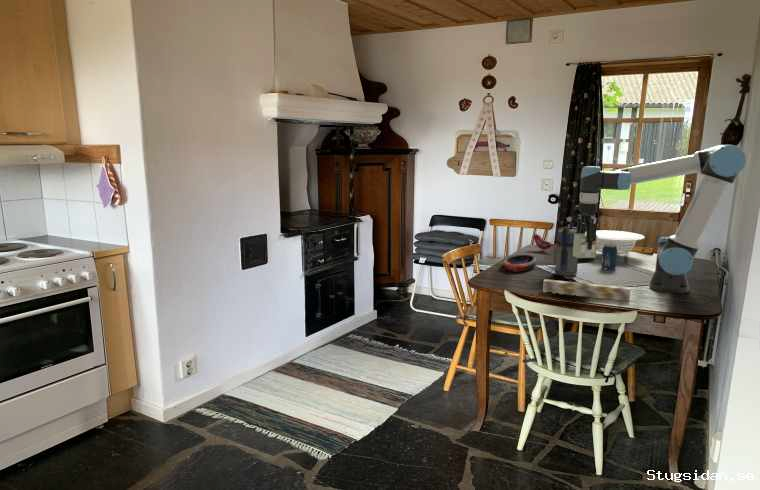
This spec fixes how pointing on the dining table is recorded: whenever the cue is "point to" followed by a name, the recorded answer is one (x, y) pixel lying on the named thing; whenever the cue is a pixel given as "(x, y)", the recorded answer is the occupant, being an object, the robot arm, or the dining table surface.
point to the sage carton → (582, 246)
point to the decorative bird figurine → (542, 243)
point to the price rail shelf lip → (587, 290)
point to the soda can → (609, 256)
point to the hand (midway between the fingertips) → (584, 255)
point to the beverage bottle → (566, 252)
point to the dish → (519, 262)
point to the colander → (617, 240)
